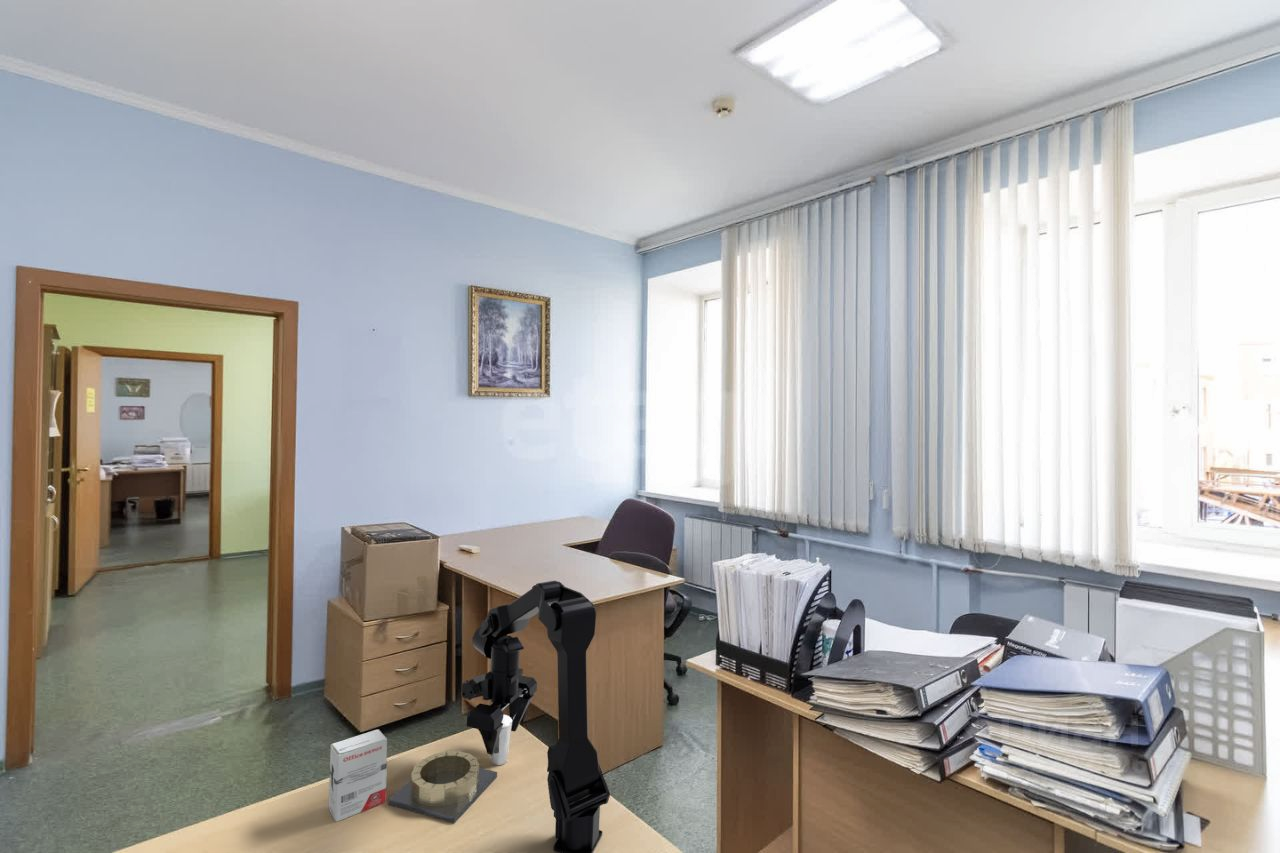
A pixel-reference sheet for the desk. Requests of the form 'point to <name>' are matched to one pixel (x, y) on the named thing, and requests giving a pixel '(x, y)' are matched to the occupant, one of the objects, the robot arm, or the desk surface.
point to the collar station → (444, 786)
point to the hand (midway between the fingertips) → (502, 741)
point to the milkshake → (502, 742)
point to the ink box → (357, 774)
